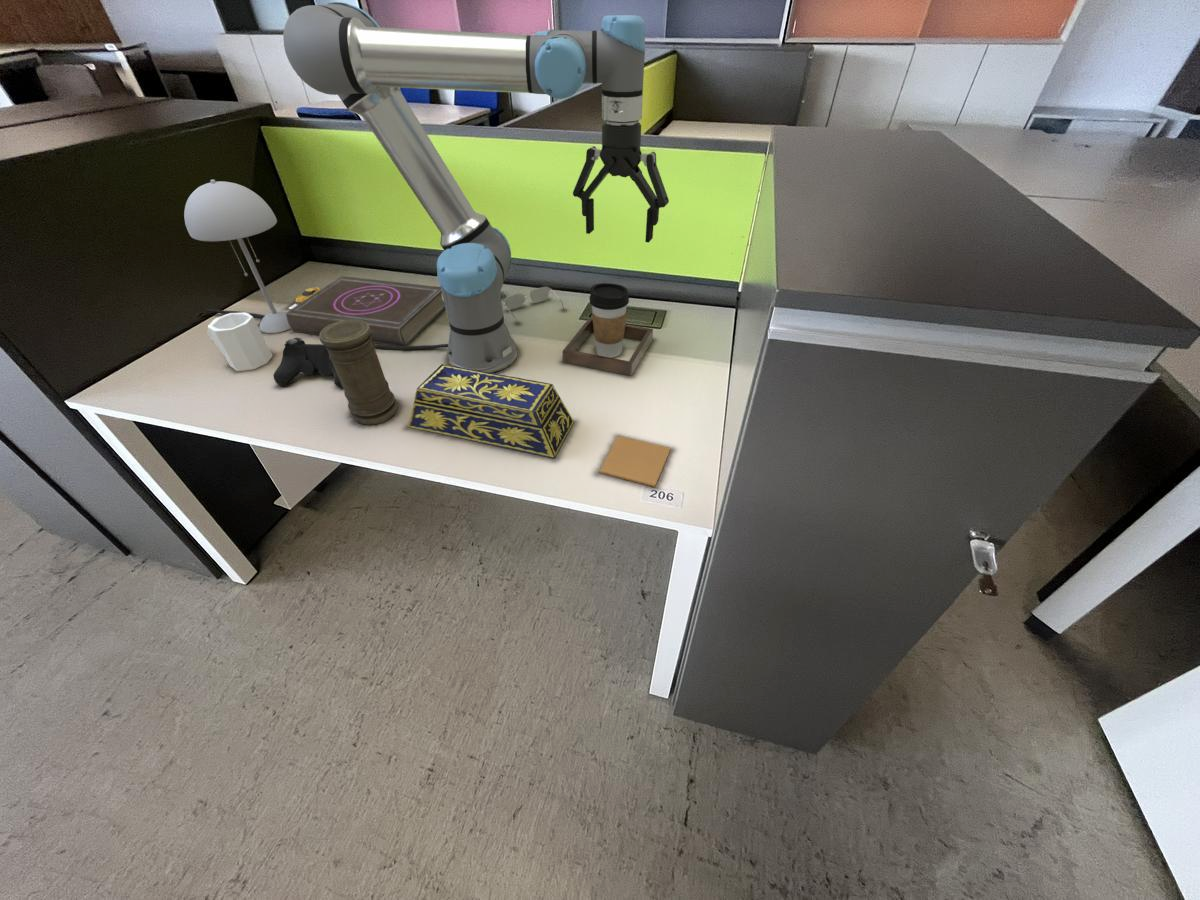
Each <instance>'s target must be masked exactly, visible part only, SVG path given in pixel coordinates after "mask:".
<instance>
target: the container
mask: <svg viewBox="0 0 1200 900" xmlns="http://www.w3.org/2000/svg"><path fill="white" fill-rule="evenodd" d="M319 341H320V343H321V344H323V345H324V346H325V348H326V349H327V350H328V353H329V358H330V360H332V363H333V365H334V368H335V370H336V372H337V375H338V377H339V379H340V382H341V384H342V386H343V388H342V389H343V391H344V392H343V393H344V396H345V398H346V400H347V402H348V405H347V407H348V410H349V413H350V414H349V415H350V417H351V419H352V420H354V422H356V423H358V424H360V425H367V426H368V425H379V424H381V423H384V422H386V421H388V420H390V419H391V418H392V417H393V416H394V415H395V414H396V413H397V411H398V408H399V407H398V406H399V404H398V401H397V399H396V398H395V394H394V392H392V391H391V389H390V386H389V385H390V384H389V382H388V380H386V377H385V374H384V370H383V368H382V365H381V362H380V360H379V356H378V354H377V351H376V348H375V346H374V344H375V343H372V340H371V328H370V326H369V325H368V324H367V323H366V322H364V321H362V320H343V321H339V322H335V323H333V324H330V325H328V326H327V327H325V328H324V329H323V330H322V331H321V332H320V336H319Z"/></svg>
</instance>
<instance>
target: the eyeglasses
mask: <svg viewBox="0 0 1200 900" xmlns="http://www.w3.org/2000/svg"><path fill="white" fill-rule="evenodd" d="M550 290H551V292H552V293H553V294H554V295H555V296H556V297H557V298H558V299H559V301H560V302H561V305H562V310H563V311H565V307H564V304H563V301H562V299H560V297H559V296H558V295H557V294H556V293H555V291H554V290H553V289H552V288H551V287H549V286H542V287H538V288H535V289H532V290H530V292H529V293H525V294H524V293H522V292H521V293H515V294H511V295H508V296H507V297H505V298H504V300H501V302H502V305H504V307H505V308H506V310H508V312H510V314H511V315H512V316H513V318H514V319H516V317H515V315H514V314H513V313H512V312H511V310H517V309H518V308H521V307H522V306H523V305H524V303H525V302H526V299H527V297H526V296H527V295H529V298H530V300H531V302H532V303H534V304H535V303H541V302H544V301H546V300H548V298H549V295H550ZM515 321H516V323H517V325H518V321H517V320H515Z"/></svg>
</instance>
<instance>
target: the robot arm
mask: <svg viewBox="0 0 1200 900" xmlns="http://www.w3.org/2000/svg"><path fill="white" fill-rule="evenodd" d="M282 37H283V38H282V39H283V48H284V53H285V55H286V57H287V60H288V63H289V64H290V66H291V68H292V69H293V71H294V72H295V73H296V75H297V76H298V77H299V78H300V79H301V80H302V81H303V82H304V83H305V84H306V85H308V86H309V87H310V88H311V89H314V90H315V91H317V92H320V93H323V94H325V95H330V96H338V98H339V99H340V101H341V103H342V104H343V105H344V106H345V108H346V109H347V111H348V112H350V113H353V114H356V115H359V116H360V117H362V119H363V120H364V121H365V123H366V124H367V125H368V127H369V129H370V130H371V132H372V133H373V135H374V136H375V138H376V139H377V141H378V142H379V144H380V145H381V147H382V148H383V150H384V151H385V152H386V155H388V157H389V158H390V160H391V161H392V163H393V164H394V166H395V167H396V169H397V170H398V172H399V173H400V175H401V176H402V178H403V179H404V180H405V182H406V183H407V185H408V187H409V188H410V190H412V192H413V194H414V195H415V197H416V198H417V199H418V202H419V203H420V204H421V206H422V207H423V208H424V210H425V211H426V213H427V214H428V216H429V218H430V219H431V220H432V222H433V223H434V225H435V227H437V229H438V231H439V232H440V241H439V245H440V246H441V248H442V250H443V251H442V252H441V253H440V254H439V255H438V258H437V260H436V275H437V276H436V277H437V281H438V284H439V287H441V291H442V300H443V302H444V304H445V312H446V316H447V320H448V325H449V335H448V336H449V337H448V343H441V344H429V345H407V346H393V345H386V344H379V343H373V344H374V346H375V349H383V350H403V351H404V350H406V351H407V350H408V351H409V350H411V351H412V350H430V349H431V350H434V349H444V348H446V349H447V353H446V354H447V359H448V363H449V365H450V366H455V367H461V368H466V369H472V370H477V371H483V372H488V373H494V374H495V373H498V372H499V371H502V370H504V369H506V368H508V367H509V366H511V365H512V364H513V363H514V361H515V360H516V359H517V357H518V349H517V345H516V342H515V340H514V338H513V336H512V335H511V333H510V331H509V328H508V326H507V325H506V322H505V317H504V310H503V302H502V297H501V291H502V288H503V285H504V283H505V280H506V278H507V275H508V273H509V271H510V269H511V263H512V250H511V247H510V246H511V245H510V243H509V240H508V239H507V237H506V236H505V235H504V233H503V232H502V231H501V230H499V228H497V227H493V226H492V225H491V223H490V221H489V220H488V218H487V216H486V215H485V214H482V213H479V212H476V211H475V210H474V208H473V207H472V205H471V204H470V202H469V200H468V199H467V197H466V195H465V194H464V193H463V192H464V191H463V190H462V189H461V187H460V185H459V184H458V182H457V180H456V179H455V178H454V176H453V174H452V173H451V171H450V169H449V168H448V166H447V164H446V163H445V162H444V161H445V160H443V158H442V156H441V155H440V153H439V151H438V150H437V148H436V147H435V145H434V143H433V141H432V140H431V138H430V137H429V135H428V134H427V132H426V130H425V128H424V127H423V126H422V124H421V122H420V120H419V119H418V118H417V116H416V114H415V113H414V111H413V108H411V106H410V104H409V103H408V101H407V100H406V98H405V97H404V95H403V93H402V90H401V88H403V89H421V90H425V89H426V90H449V91H473V92H477V91H478V92H495V93H496V92H498V93H516V94H517V93H519V94H520V93H521V94H533V95H547V96H549V97H551V98H552V99H553V98H554V99H557V100H563V99H567V98H570V97H572V96H574V94H576V93H577V92H578V91H579V90H580V88H581V87H582V86H583V84H594V85H595V84H601V119H602V120H603V121H604V122H602V123H601V149H599V148H597V147H596V146H594V145H592V146H591V147H589V148H587V149H586V151H585V152H586V154H585V155H586V156H585V162H584V164H583V167H582V169H581V171H580V174H579V177H578V179H577V181H576V184H575V186H574V187H573V190H572V196H574V197H575V198H578V199H579V200H581V214H582V217H585V234H586V235H590V234H591V233H592V232H593V231H594V230H595V199H594V198H593V197H592V195H593V194H594V192H595V191H596V190H597V189H598V187H599V186H600V185H601V183H602V182H603V181H604V180H605V179H606V177H607V176H608V175H611V177H618V176H619V177H620V178H621V177H622V178H627V177H629V178H630V180H631V181H633V182H634V184H635V185H636V187H637V188H638V190H639V192H640V193H641V195H642V196H643V198H644V199H645V201H646V202H647V204H648V205H649V207H648V208H647V209H646V226H645V243H650V242H651V241H652V240H653V237H654V226H656V225H657V224H658V223H659V219H660V218H659V217H660V216H659V215H660V208H663V209H664V208H665V207H667V205H668V204H669V202H670V199H669V196H668V193H667V191H666V188H665V186H664V182H663V179H662V177H661V173H660V171H659V168H658V165H657V154H656V152H655V151H651V152H650V153H642V151H641V143H642V124H641V122H639V121H641V120H642V119H643V118H642V117H643V96H644V95H643V94H644V93H643V92H644V75H645V58H646V57H645V56H646V24H645V21H644V19H643V18H642V17H641V16H640V15H633V14H632V15H631V14H617V15H615V14H614V15H613V14H611V15H604V16H603V17H602V20H601V26H600V29H596V30H567V29H566V30H565V29H564V30H560V29H559V30H558V29H548V30H538V31H536V32H535V33H534V34H515V33H497V32H496V33H495V32H478V31H456V30H439V29H417V28H416V29H415V28H398V27H397V28H396V27H381V26H380V25H379V24H378V22H377V21H376V20H375V19H374V18H373V17H372V16H371V15H370V14H369V13H368V12H367V11H365V10H363V9H362V8H360V7H358V6H354V5H352V4H349V3H346V2H342V1H339V2H338V1H334V2H328V3H325V4H314V5H312V4H311V5H305V6H301V7H299V8H296V10H294V11H293V12H292V13H291V14H290V15H289V16H288V18H287V20H286V22H285V24H284V29H283V33H282ZM599 159H600V160H601V162H602V164H603V166H602V168H601V169H600V170H599V171H598V173H597V175H596V176H595V177H594V178H593V180H592V181H591V182H590V183H589V185H588V186H587V187H586V189H585V186H586V184H587V182H588V180H589V177H590V175H591V173H592V170H593V168H594V166H595V163H596V162H597V160H599ZM641 162H642V163H643V165H644V167H646V171H647V174H648V177H649V179H650V182H651V185H652V187H651V185H650V184H649V183H648V180H647V179H646V178H645V176H644V173H643V171H642V170H641V168H640V166H639V165H640V163H641ZM584 189H585V190H584ZM591 197H592V198H591ZM206 309H207V313H215V314H216V313H217V314H224V315H226V314H229V313H243V312H244V311H240V310H239V311H238V310H223V309H216V308H214V309H213V308H206ZM245 312H246V313H248V314H250V315H251V316H253V318H259V319H263V318H264V317H265V316H266V314H265V315H264V314H260V313H254V312H247V311H245ZM203 314H205V313H199V314H198V313H197V314H196V317H197V318H200V317H201V316H202V315H203ZM315 334H316V335H317V336H319V337H320V333H317V332H315V333H314V334H313V335H315Z"/></svg>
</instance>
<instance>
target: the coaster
mask: <svg viewBox="0 0 1200 900" xmlns="http://www.w3.org/2000/svg"><path fill="white" fill-rule="evenodd" d="M670 452H671V447H668V446H664V445H659V444H656V443H651V442H646V441H643V440H638V439H635V438H630V437H626V436H622V435H617V437H616V439H615V441H614V442H613V444H612V446H611V449H610V450H609V452H608V454H607V455H606V458H605V459H604V461H603V463H602V465H601V466H600V468H599V470H598V473H599V474H601V475H606V476H610V477H614V478H617V479H621V480H624V481H629V482H632V483H637V484H641V485H645V486H648V487H651V488H656V486H657V484H658V481H659V479H660V477H661V474H662V471H663V469H664V466H665V464H666V462H667V459H668V457H669V454H670Z"/></svg>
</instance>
